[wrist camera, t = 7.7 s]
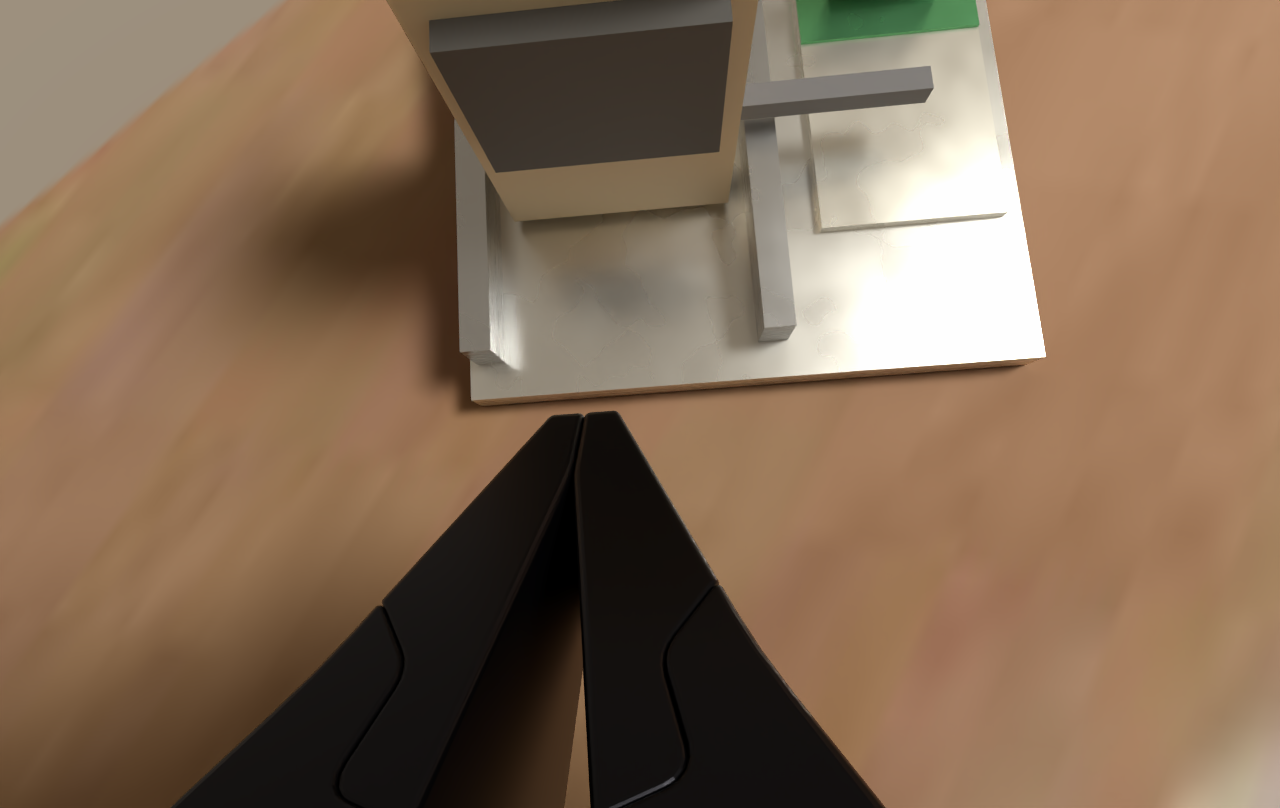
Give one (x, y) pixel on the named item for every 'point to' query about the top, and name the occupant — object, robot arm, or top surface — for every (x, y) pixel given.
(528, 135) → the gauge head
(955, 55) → the gauge frame
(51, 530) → the top surface
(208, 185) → the top surface
